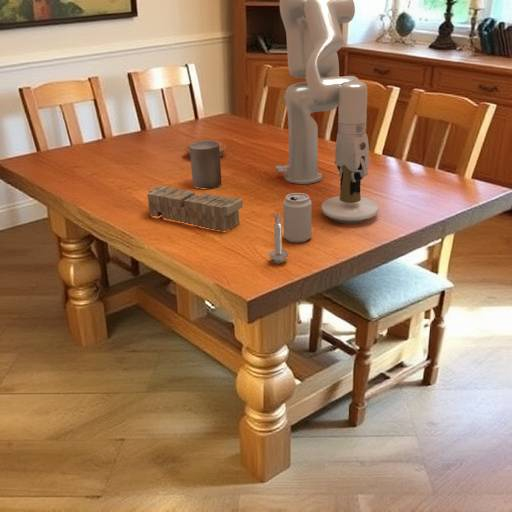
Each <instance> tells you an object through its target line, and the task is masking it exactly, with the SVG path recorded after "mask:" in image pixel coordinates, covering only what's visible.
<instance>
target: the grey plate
mask: <svg viewBox="0 0 512 512" xmlns="http://www.w3.org/2000/svg"><path fill="white" fill-rule="evenodd" d="M339 198H340V195H339V196H338V195H337V196H333V197H329V198H327V199H325V200H324V201H323V202H321V212H322V214H323V215H325V216H326V217H328V218H330V220H331V221H334V222H335V223H340V224H345V225H346V224H347V225H355V224H362V223H365V222H367V221H368V220H369V219H371V218H373V217H375V216H377V214H378V212H379V204H378V203H377V202H376V201H375V200H374V199H371V198H369V197H366V196H361V200H360V201H359V202H355V203H346V202H342V201H340V199H339Z"/></svg>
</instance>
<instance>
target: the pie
mask: <svg viewBox="0 0 512 512" xmlns="http://www.w3.org/2000/svg"><path fill="white" fill-rule="evenodd" d="M200 141H201V140H198V141H196V142H200ZM205 141H212V140H211V139H210V140H205ZM214 141H215V142H218V143H219V151H220V158H221V157H222V156H223V154H224V152H225V150H226V149H227V145H226V144H225V143H222V142H221V141H218V140H214ZM192 143H193V142H191V143H190V144H189V145H191V144H192ZM189 145H187V146H184V150H185V152H187V153H188V156H190V147H189Z"/></svg>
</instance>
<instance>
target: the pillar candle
mask: <svg viewBox="0 0 512 512" xmlns="http://www.w3.org/2000/svg"><path fill="white" fill-rule="evenodd" d="M199 141H200V142H197V141H194V142H191V143H192V144H191V143H190V144H191V145H190V144H189V145H188V146H189V147H190V155H189V156H190V166H191V180H192V185H194V186H196V187H199V188H212V189H215V188H214V187H217V186H219V185H221V183H222V182H223V181H222V172H221V171H222V169H221V157H220V151H219V143H218V142H219V141H218V142H215V141H216V140H211V141H206V140H199ZM222 184H223V183H222ZM194 186H193V187H194ZM221 186H222V185H221ZM219 187H220V186H219ZM217 188H218V187H217Z"/></svg>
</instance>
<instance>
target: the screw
mask: <svg viewBox="0 0 512 512" xmlns="http://www.w3.org/2000/svg"><path fill="white" fill-rule="evenodd" d="M282 226H283V225H282V221H281V213H278V212H277V213H275V214H274V226H273V227H274V229H273V230H274V231H273V232H274V235H273V236H274V249H272V250H270V251H269V252H268V256H269V258H270V259H272V262H273V263H274V264H277V265H280V264H283V263H284V262H285V259H286V258H288V256H289V252H288V251H286V250H284V249H282V248H283V234H282V233H283V227H282Z"/></svg>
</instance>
